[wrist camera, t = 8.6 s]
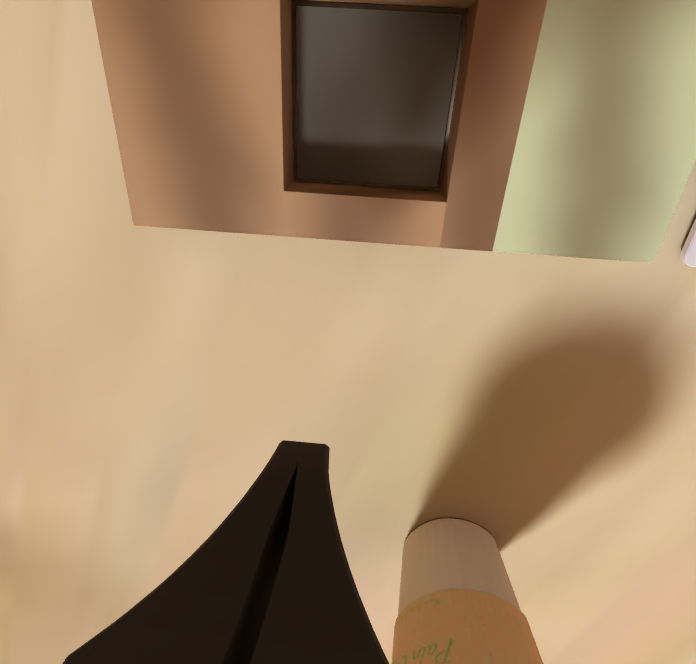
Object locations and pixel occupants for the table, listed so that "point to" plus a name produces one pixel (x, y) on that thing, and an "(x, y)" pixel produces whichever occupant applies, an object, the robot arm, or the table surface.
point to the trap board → (408, 120)
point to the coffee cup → (458, 600)
